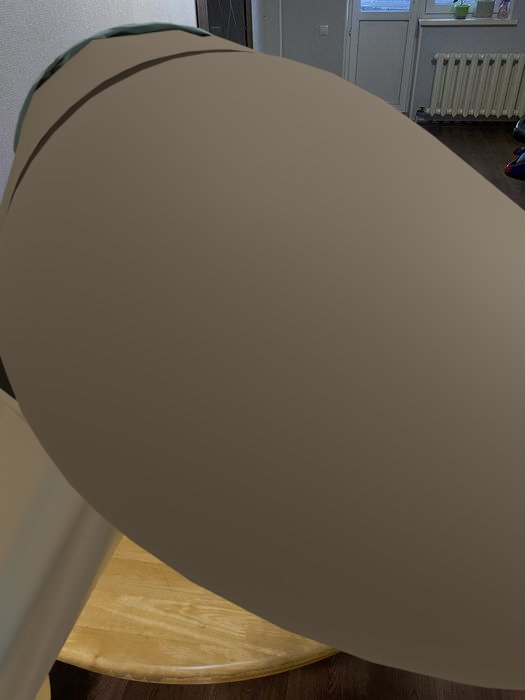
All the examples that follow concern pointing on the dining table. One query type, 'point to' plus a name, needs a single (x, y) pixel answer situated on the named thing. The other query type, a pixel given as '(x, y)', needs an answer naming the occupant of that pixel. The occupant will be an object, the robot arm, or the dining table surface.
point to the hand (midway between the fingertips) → (278, 393)
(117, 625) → the dining table surface
